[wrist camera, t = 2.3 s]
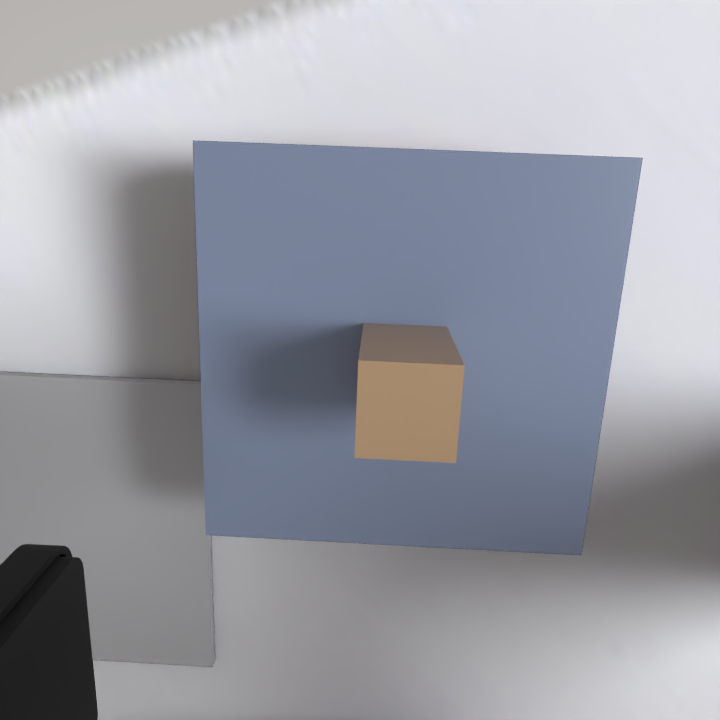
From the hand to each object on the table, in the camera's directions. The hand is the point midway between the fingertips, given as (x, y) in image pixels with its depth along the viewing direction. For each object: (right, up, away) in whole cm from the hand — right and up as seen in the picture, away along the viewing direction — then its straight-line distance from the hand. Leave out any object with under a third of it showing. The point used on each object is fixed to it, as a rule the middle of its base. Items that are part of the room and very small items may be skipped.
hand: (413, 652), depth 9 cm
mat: (-16, -4, +23) cm, 29 cm away
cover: (+1, +5, +17) cm, 17 cm away
